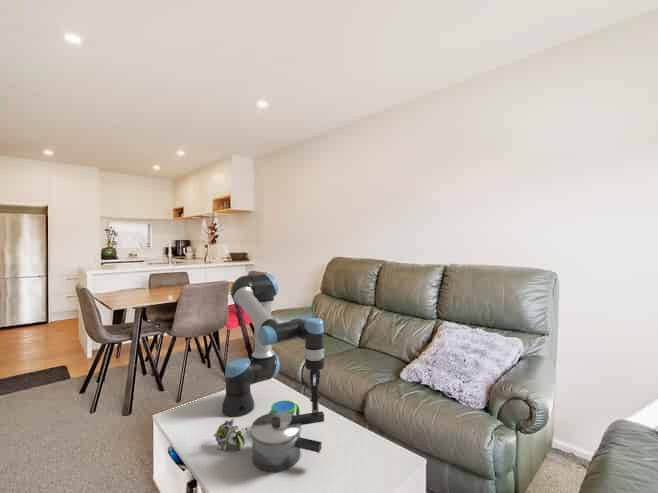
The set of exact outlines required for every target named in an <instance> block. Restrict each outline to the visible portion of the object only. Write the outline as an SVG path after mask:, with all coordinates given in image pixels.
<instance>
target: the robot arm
mask: <svg viewBox="0 0 658 493" xmlns="http://www.w3.org/2000/svg"><path fill="white" fill-rule="evenodd" d="M278 293H279V285H278V281H277V279H276V277H275V276H274V275H273V274H270V273H259V274H251V275H250V274H249V275H242V276H240V277H238V278H237V279H236V280H235V281H234V282H233V284H232V285H231V288H230V297H231V298H232V300H233V302H234V303H235V304H236V305H237V306H239V307H241V309H242V310H243V312H245V313H246V315H247V317H248V318H249V319H250V320H251V322H252V323H253V328H254V333H253V334H254V351H253V352H252V353H251V359H250V358H249V357H245V356H244V357H243V356H242V357H236V358H234V359H232V360H230V361H229V362H227V364H226V365H225V373H224V377H225V396H224V399H223V402H222V405H221V410H222V414H224V415H225V416H228V417H232V418H233V417H241V416H246V415H248V414H250V413H251V412H252V411H254V408H255V400H254V398H253V395H252V392H251V386H252V385H254V384H258V383H261V382H264V381H269V380H271V379H274V378H275V377H277V375H279V372H280V366H281V363H280V360H279V356H278V355H277V354H276V352H275V351H274V350H273V345H276V344H281V343H285V342H289V341H292V340H297V339H298V340H299V339H300V340H303V341H304V357H305V359H304V361H305V363H304V364H305V368H306V370H308V371H309V378H310V382H309V383H310V385H311V386H310V387H311V389H310V390H311V399H310V400H309V402H311V413H314V412H320V410H319V403H320V402H319V401H320V399H321V395H319V394H320V393H319V386H320V377H321V376H320V375H321V370H323V369H324V367H325V358H324V356H325V352H326V349H325V347H324V345H325V328H324V321H323V319H322V318H317V317H310V318H306V319H303V318H299V317H293V318H291V319H290V320H289V321H285V322H280V323H278V322H277V321H276V320H275V318H273V316H272V303H273V302H274V300H275V297H276V296H277V295H278Z"/></svg>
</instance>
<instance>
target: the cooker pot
mask: <svg viewBox="0 0 658 493" xmlns="http://www.w3.org/2000/svg"><path fill="white" fill-rule="evenodd" d="M251 440H252V442H251V444H252V446H251V447H252V463H253V466H254V467H255V468H256V469H258V470H259V471H262V472H264V473H270V474H271V473H272V474H274V473H281V472H285V471H287V470H289V469H291V468H293V467H294V466H295V465H296V464H297V463H298V462H299V460H300V458H301V449H303V450H306V451H310V452H315V453H320V452H321V450H322V448H323V447H322V442H323V441H320V440H319V441H318V440H316V439H315V440H313V439H310V438H304V437H301V432H300V433H299V434H298V436H297V437H295V438H294V439H292V440H291V441H288V442H286V443H282V444H277V445H267V444H262V443H259V442H257V441H255V440H254V439H253V438H252V437H251Z"/></svg>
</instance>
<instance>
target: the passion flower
mask: <svg viewBox="0 0 658 493" xmlns="http://www.w3.org/2000/svg"><path fill="white" fill-rule="evenodd" d="M234 423H235V419H234V418H231V419H230V421H229V420H224V422H223V423H221V425H219V426H218V428H217V430H216V432H215V433H214V434H213V438H215V440H216V442H217V446H219V448H218V450H224V451H226V449H227V448H228V445H229V444H233V443H234V444H235V448H236V450H237V451H241V444H242V446H243V447H245V443H246V440H245V437H244V435H243V432H242V431H243V430H245V431H246V434H247V435H248V434H249V430H248V427H244V428H242V429H240V430H238V429H239V427H240V426H239V425H234Z"/></svg>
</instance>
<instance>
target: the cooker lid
mask: <svg viewBox="0 0 658 493" xmlns="http://www.w3.org/2000/svg"><path fill="white" fill-rule="evenodd" d="M323 422H325V414H324V411H323V410H321V411H319V412H314V413H312V412H308V413H300V414H299V415H296V414H294V415H293V414H291V413H286V412H274V413H269V412H268V413H265V414H264V415H261V416H259V417H258V418H256V419H255V420H254V421H253V422H252V424H251V425H250V435H251V439H252V438H253V439H254V440H255V441H257V442H259V443H262V444H267V445H277V444H282V443H286V442H288V441H291V440H292V439H294V438H295V437H297V436H298V434H299V433H300V434H301V430H302V426H304V425H309V424H317V423H318V424H319V423H323Z"/></svg>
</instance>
